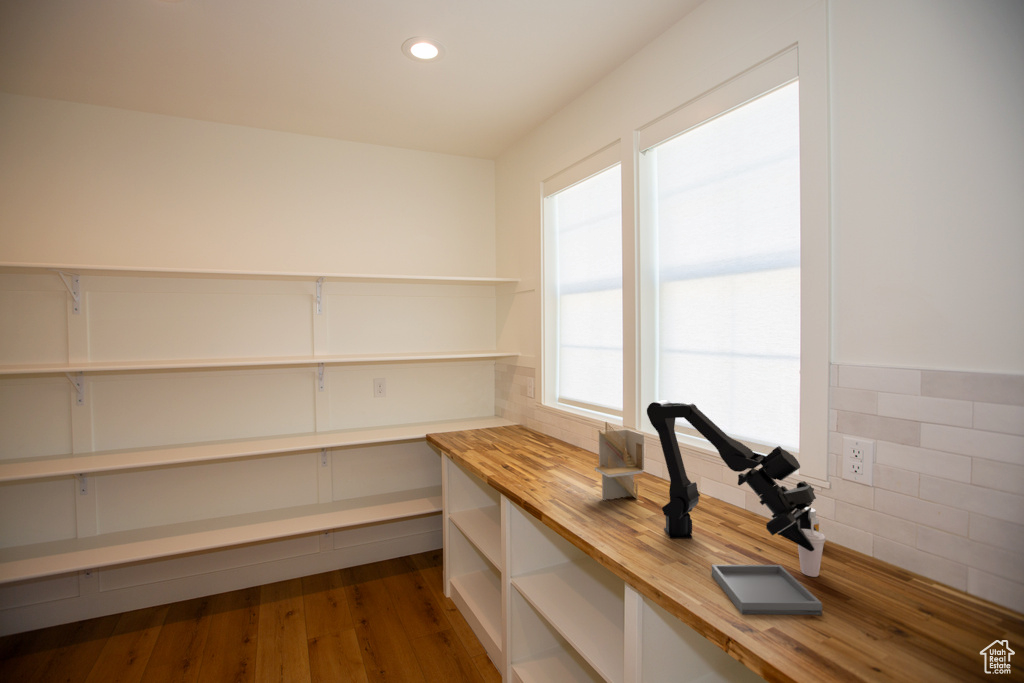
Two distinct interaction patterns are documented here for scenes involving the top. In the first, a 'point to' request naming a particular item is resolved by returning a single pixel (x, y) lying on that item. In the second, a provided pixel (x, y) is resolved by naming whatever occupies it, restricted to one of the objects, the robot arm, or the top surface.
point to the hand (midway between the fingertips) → (816, 546)
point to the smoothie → (811, 552)
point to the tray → (765, 590)
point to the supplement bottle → (816, 521)
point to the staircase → (620, 461)
